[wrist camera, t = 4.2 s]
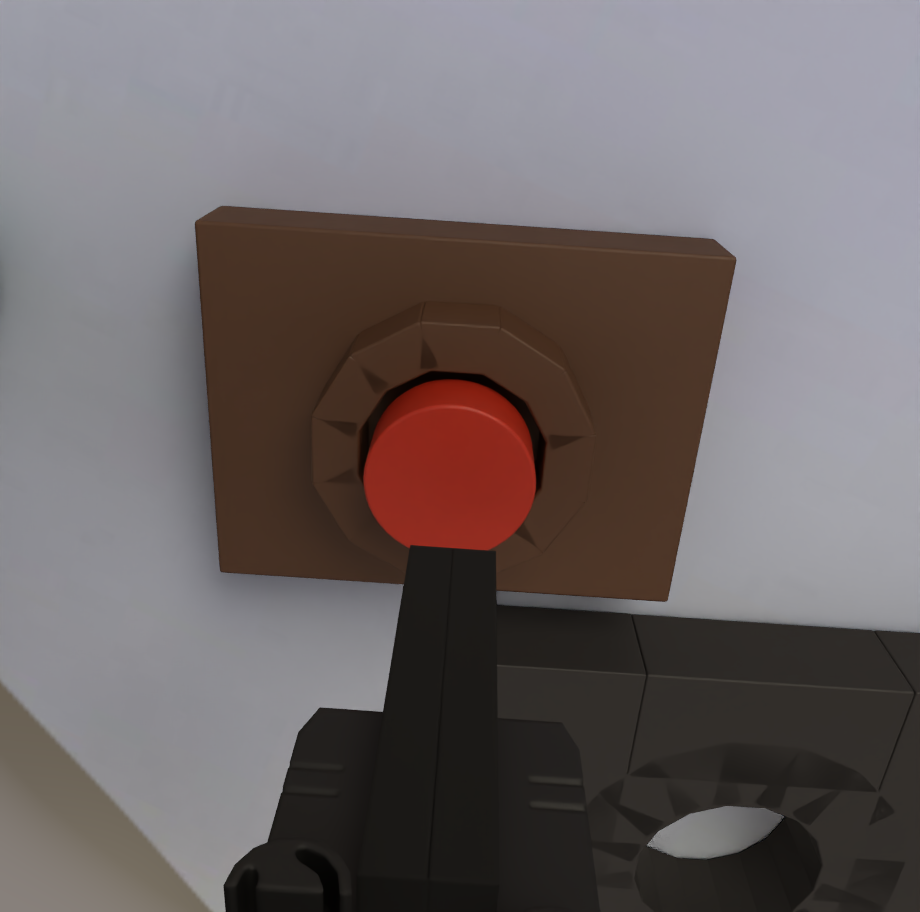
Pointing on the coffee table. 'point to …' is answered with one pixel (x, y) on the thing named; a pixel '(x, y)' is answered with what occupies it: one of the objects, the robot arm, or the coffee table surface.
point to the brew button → (450, 467)
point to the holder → (732, 752)
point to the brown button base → (456, 357)
